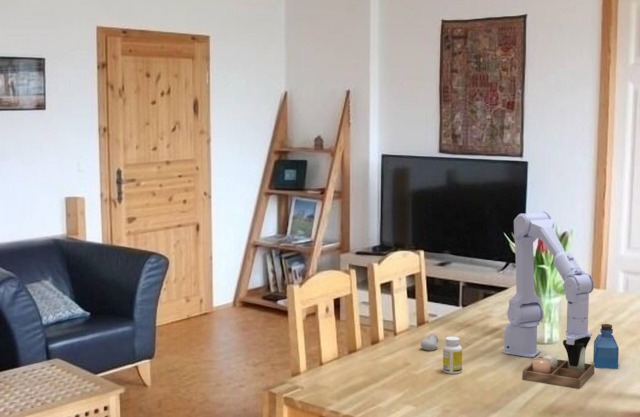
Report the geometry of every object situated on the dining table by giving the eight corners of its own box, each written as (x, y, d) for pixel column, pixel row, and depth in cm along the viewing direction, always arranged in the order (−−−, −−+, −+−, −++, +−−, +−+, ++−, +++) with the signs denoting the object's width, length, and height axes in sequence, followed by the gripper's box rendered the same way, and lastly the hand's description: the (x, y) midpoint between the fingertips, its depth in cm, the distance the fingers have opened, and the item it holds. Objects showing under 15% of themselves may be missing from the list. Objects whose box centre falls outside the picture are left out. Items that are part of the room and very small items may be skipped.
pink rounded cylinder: (530, 378, 240) (530, 361, 240) (535, 374, 244) (535, 357, 244) (547, 381, 238) (547, 363, 237) (552, 376, 242) (552, 359, 241)
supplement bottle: (463, 369, 249) (463, 336, 248) (460, 375, 244) (460, 341, 243) (444, 367, 251) (445, 335, 249) (441, 373, 246) (441, 339, 244)
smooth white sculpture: (431, 356, 267) (417, 349, 269) (441, 349, 273) (427, 342, 276) (435, 344, 265) (420, 337, 268) (445, 337, 272) (431, 330, 275)
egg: (539, 371, 247) (539, 355, 246) (543, 367, 251) (544, 351, 250) (554, 373, 244) (555, 358, 244) (559, 369, 248) (560, 354, 248)
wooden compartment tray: (522, 379, 240) (522, 370, 239) (539, 364, 253) (539, 356, 253) (579, 388, 231) (579, 379, 231) (594, 372, 245) (594, 364, 244)
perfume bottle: (618, 368, 248) (619, 328, 247) (595, 367, 250) (596, 327, 248) (615, 362, 254) (616, 323, 253) (593, 361, 256) (594, 322, 254)
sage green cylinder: (565, 370, 243) (566, 348, 242) (570, 366, 246) (571, 344, 246) (581, 373, 240) (582, 350, 239) (586, 369, 244) (587, 346, 243)
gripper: (585, 324, 233) (583, 372, 235) (598, 312, 245) (597, 359, 247) (559, 320, 237) (558, 368, 239) (573, 309, 249) (572, 355, 251)
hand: (576, 363), depth 243 cm, fingers closed on sage green cylinder, 4 cm apart
